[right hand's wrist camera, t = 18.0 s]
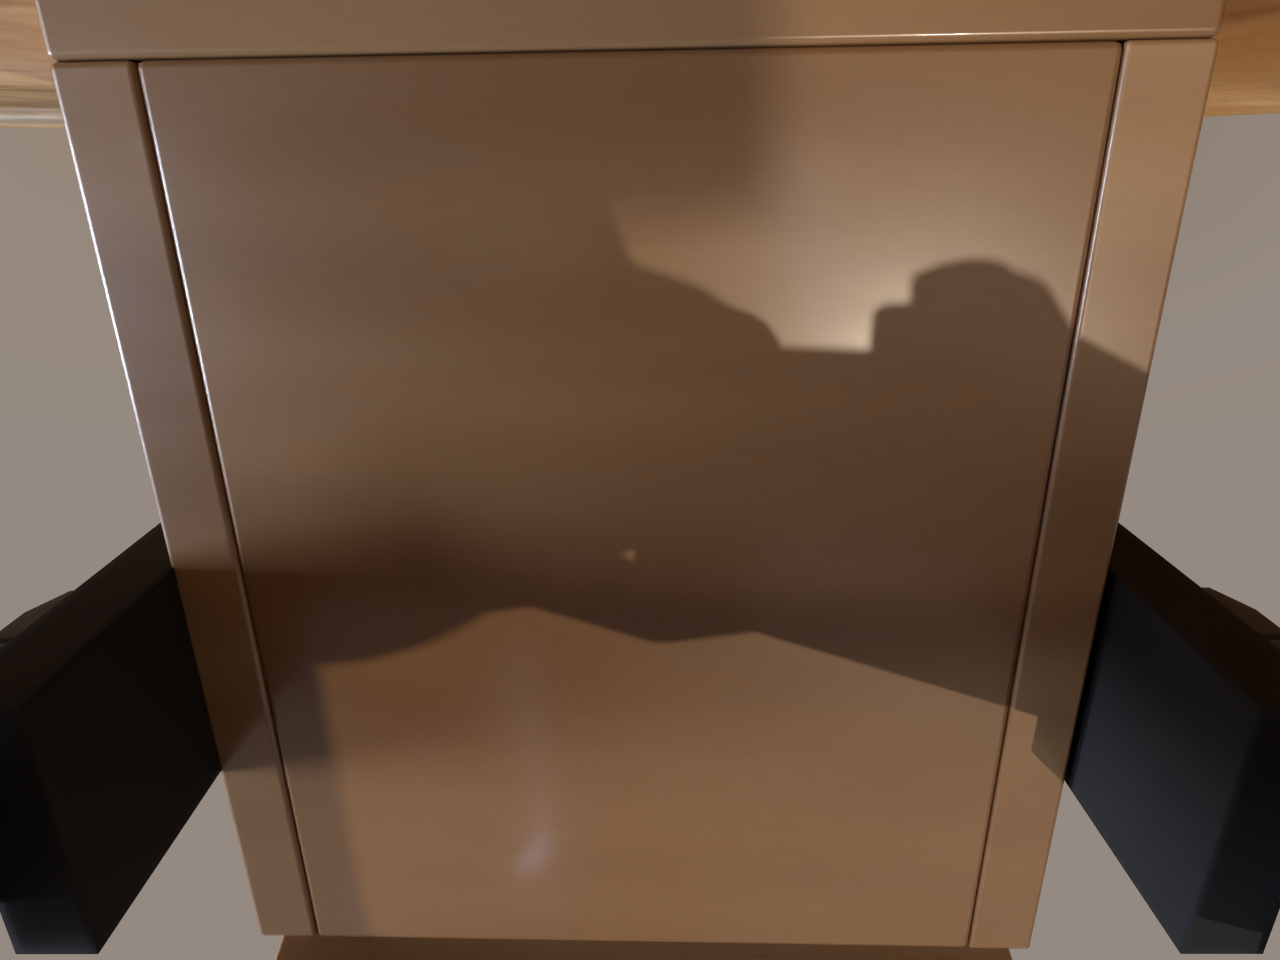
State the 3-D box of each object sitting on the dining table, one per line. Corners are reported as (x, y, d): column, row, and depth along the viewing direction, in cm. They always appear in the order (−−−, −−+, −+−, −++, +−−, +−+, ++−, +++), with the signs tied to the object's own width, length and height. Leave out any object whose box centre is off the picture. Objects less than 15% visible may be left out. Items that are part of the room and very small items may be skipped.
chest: (845, 80, 21) (819, 481, 25) (463, 88, 22) (495, 482, 26) (1244, -71, 7) (1030, 951, 11) (19, -43, 7) (259, 937, 11)
